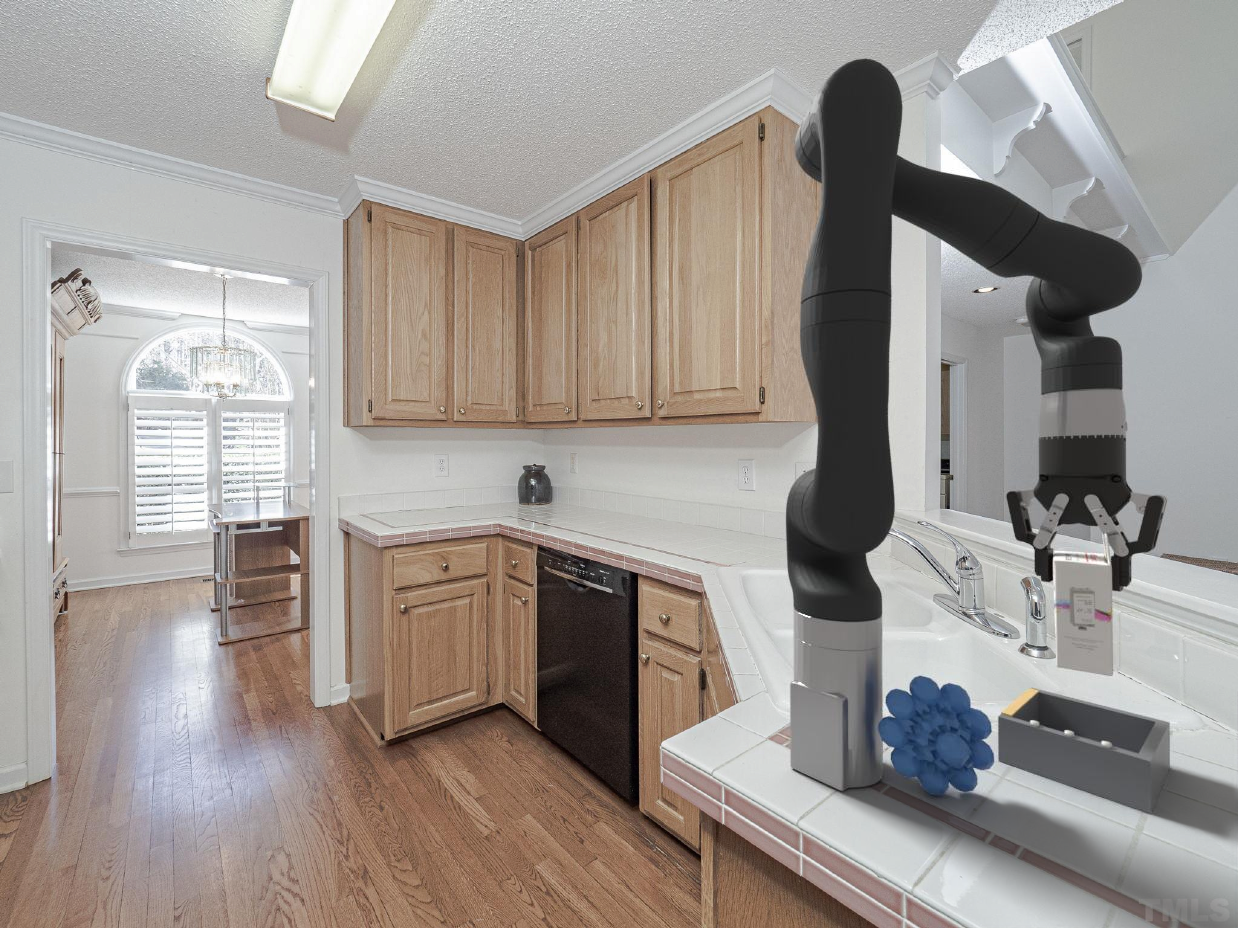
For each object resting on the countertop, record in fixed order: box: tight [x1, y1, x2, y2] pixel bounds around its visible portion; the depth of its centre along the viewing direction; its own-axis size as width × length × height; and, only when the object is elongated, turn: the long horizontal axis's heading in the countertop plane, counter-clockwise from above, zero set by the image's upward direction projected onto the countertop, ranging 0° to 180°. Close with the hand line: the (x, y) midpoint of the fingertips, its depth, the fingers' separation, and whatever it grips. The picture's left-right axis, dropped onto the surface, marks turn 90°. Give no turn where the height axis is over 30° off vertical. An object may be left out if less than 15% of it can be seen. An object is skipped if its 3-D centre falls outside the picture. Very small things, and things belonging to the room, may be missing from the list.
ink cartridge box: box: [1052, 532, 1114, 677], centre depth 63 cm, size 9×5×15 cm, turn 143°
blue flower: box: [878, 675, 995, 796], centre depth 56 cm, size 12×7×12 cm, turn 90°
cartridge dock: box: [997, 687, 1171, 815], centre depth 63 cm, size 13×13×5 cm
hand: (1081, 584), depth 63 cm, fingers closed on ink cartridge box, 5 cm apart
